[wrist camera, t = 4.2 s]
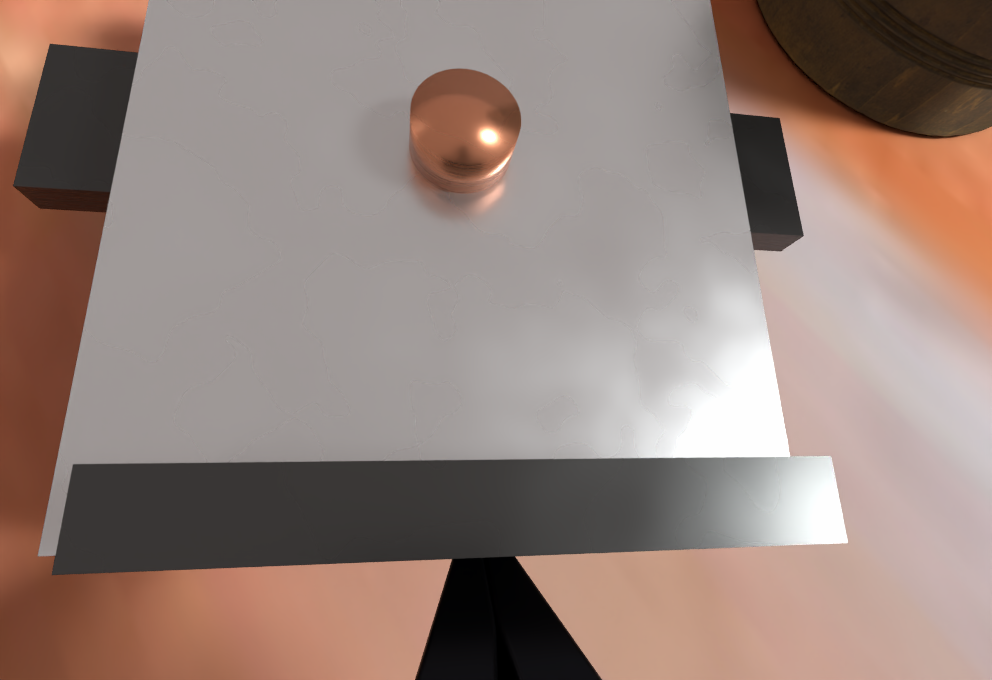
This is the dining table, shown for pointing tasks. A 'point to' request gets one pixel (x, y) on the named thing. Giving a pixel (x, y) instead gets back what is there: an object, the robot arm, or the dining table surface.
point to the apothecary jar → (895, 58)
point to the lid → (425, 296)
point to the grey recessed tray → (103, 106)
